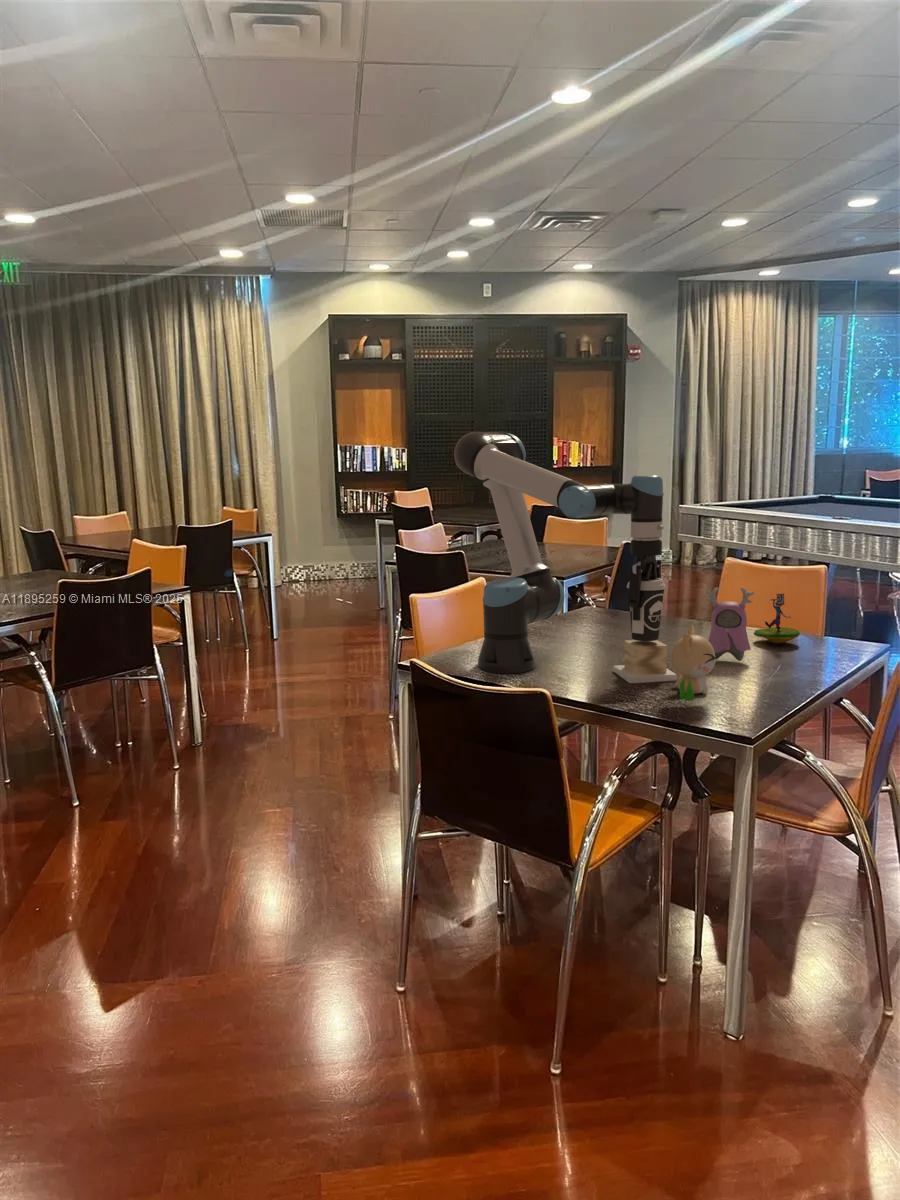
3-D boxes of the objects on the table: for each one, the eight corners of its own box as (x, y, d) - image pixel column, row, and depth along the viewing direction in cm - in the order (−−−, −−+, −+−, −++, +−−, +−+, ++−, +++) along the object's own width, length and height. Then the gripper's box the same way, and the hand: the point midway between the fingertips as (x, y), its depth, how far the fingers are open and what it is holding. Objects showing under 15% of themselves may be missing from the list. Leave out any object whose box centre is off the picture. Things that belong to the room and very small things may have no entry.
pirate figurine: (751, 637, 248) (753, 588, 246) (796, 638, 245) (798, 589, 242) (755, 647, 235) (757, 595, 233) (802, 648, 232) (805, 596, 229)
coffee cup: (661, 634, 209) (663, 576, 207) (667, 642, 200) (669, 581, 197) (623, 634, 210) (624, 576, 207) (627, 642, 200) (629, 581, 198)
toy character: (703, 663, 217) (705, 589, 214) (705, 654, 227) (707, 583, 224) (751, 666, 213) (754, 590, 210) (751, 657, 223) (754, 584, 219)
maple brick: (635, 674, 201) (635, 647, 200) (624, 667, 209) (624, 640, 208) (666, 673, 202) (667, 645, 201) (654, 665, 210) (654, 638, 209)
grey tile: (629, 683, 200) (629, 677, 199) (613, 671, 211) (613, 665, 211) (676, 680, 201) (676, 674, 201) (657, 668, 213) (658, 663, 213)
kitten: (711, 703, 181) (713, 637, 179) (665, 699, 185) (666, 634, 183) (718, 686, 195) (720, 625, 193) (675, 683, 199) (676, 622, 197)
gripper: (643, 543, 190) (641, 639, 194) (677, 536, 206) (675, 624, 210) (613, 541, 195) (612, 635, 199) (649, 535, 211) (647, 621, 215)
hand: (644, 629), depth 204 cm, fingers closed on coffee cup, 8 cm apart
